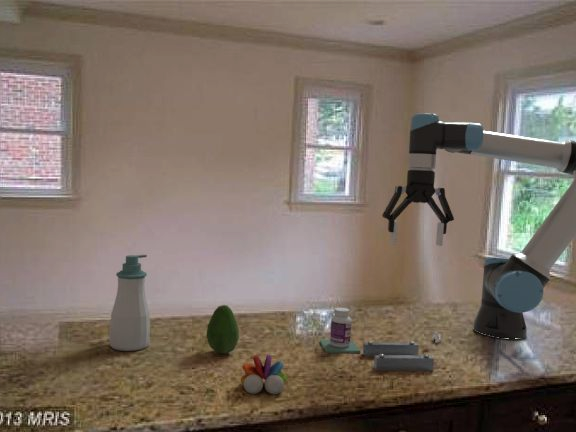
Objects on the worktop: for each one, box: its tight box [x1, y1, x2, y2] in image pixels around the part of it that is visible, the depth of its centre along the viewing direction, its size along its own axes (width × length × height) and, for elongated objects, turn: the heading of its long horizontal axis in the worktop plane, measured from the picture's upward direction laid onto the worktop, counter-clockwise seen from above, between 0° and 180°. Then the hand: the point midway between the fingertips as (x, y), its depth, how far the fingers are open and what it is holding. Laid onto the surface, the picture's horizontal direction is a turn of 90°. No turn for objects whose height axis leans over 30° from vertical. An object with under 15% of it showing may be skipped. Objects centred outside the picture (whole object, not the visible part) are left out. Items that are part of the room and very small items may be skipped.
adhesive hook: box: [431, 331, 443, 344], centre depth 157 cm, size 3×3×3 cm
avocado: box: [206, 304, 240, 355], centre depth 137 cm, size 8×8×12 cm
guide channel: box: [362, 340, 435, 372], centre depth 138 cm, size 14×12×4 cm
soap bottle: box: [108, 254, 151, 352], centre depth 139 cm, size 10×10×23 cm
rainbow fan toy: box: [240, 354, 288, 395], centre depth 117 cm, size 8×10×7 cm
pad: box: [319, 339, 362, 354], centre depth 147 cm, size 9×9×1 cm
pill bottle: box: [329, 307, 352, 348], centre depth 147 cm, size 5×5×10 cm
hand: (416, 244), depth 158 cm, fingers open, 13 cm apart
